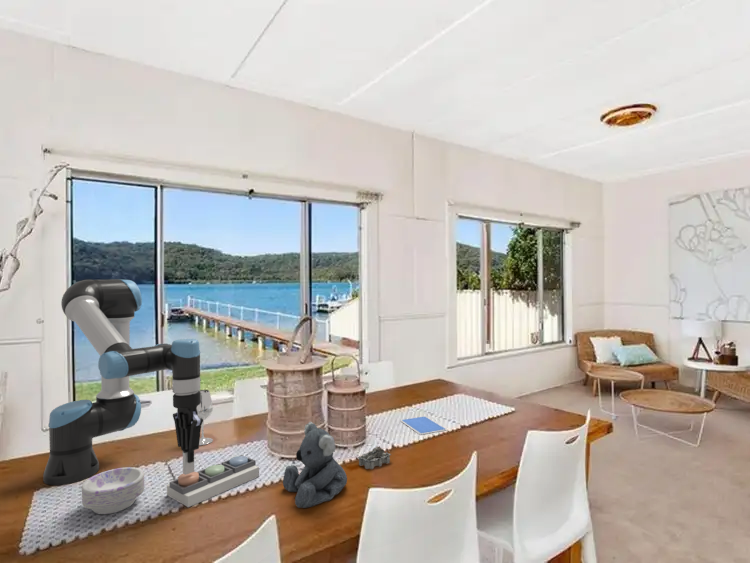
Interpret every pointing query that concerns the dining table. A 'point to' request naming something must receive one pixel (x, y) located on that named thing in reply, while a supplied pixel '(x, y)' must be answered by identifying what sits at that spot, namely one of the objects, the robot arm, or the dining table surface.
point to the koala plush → (315, 469)
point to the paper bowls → (113, 490)
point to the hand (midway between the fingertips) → (188, 472)
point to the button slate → (238, 461)
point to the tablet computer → (423, 425)
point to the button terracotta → (188, 479)
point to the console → (213, 483)
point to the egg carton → (374, 458)
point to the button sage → (214, 470)
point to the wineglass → (205, 413)
